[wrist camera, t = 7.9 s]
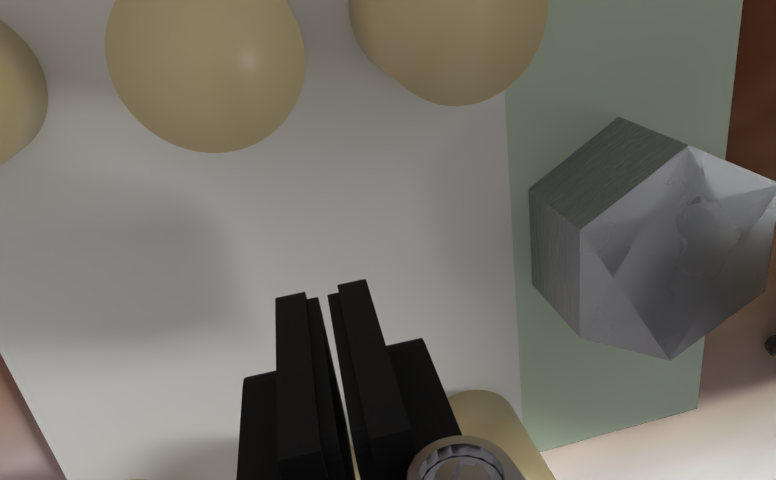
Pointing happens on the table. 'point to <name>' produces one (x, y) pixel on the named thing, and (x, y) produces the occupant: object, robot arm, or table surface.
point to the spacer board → (319, 205)
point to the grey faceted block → (649, 240)
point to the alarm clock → (771, 345)
